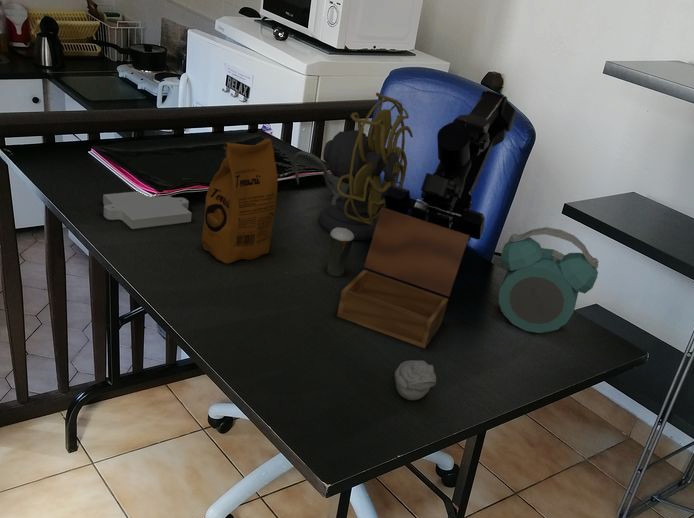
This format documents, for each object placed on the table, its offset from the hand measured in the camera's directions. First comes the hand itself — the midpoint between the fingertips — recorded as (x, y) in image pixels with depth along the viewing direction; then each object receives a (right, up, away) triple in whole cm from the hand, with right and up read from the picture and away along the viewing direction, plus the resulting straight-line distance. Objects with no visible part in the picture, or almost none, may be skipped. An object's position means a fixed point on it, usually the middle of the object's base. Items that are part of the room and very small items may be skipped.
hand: (417, 252), depth 137 cm
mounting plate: (-54, +10, +18) cm, 58 cm away
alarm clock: (+22, -13, +8) cm, 27 cm away
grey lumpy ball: (-3, -25, -21) cm, 33 cm away
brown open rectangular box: (-5, -12, -1) cm, 13 cm away
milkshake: (-15, -3, +11) cm, 19 cm away
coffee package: (-35, +1, +11) cm, 36 cm away
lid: (0, 0, -2) cm, 2 cm away
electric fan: (-19, +12, +35) cm, 42 cm away
